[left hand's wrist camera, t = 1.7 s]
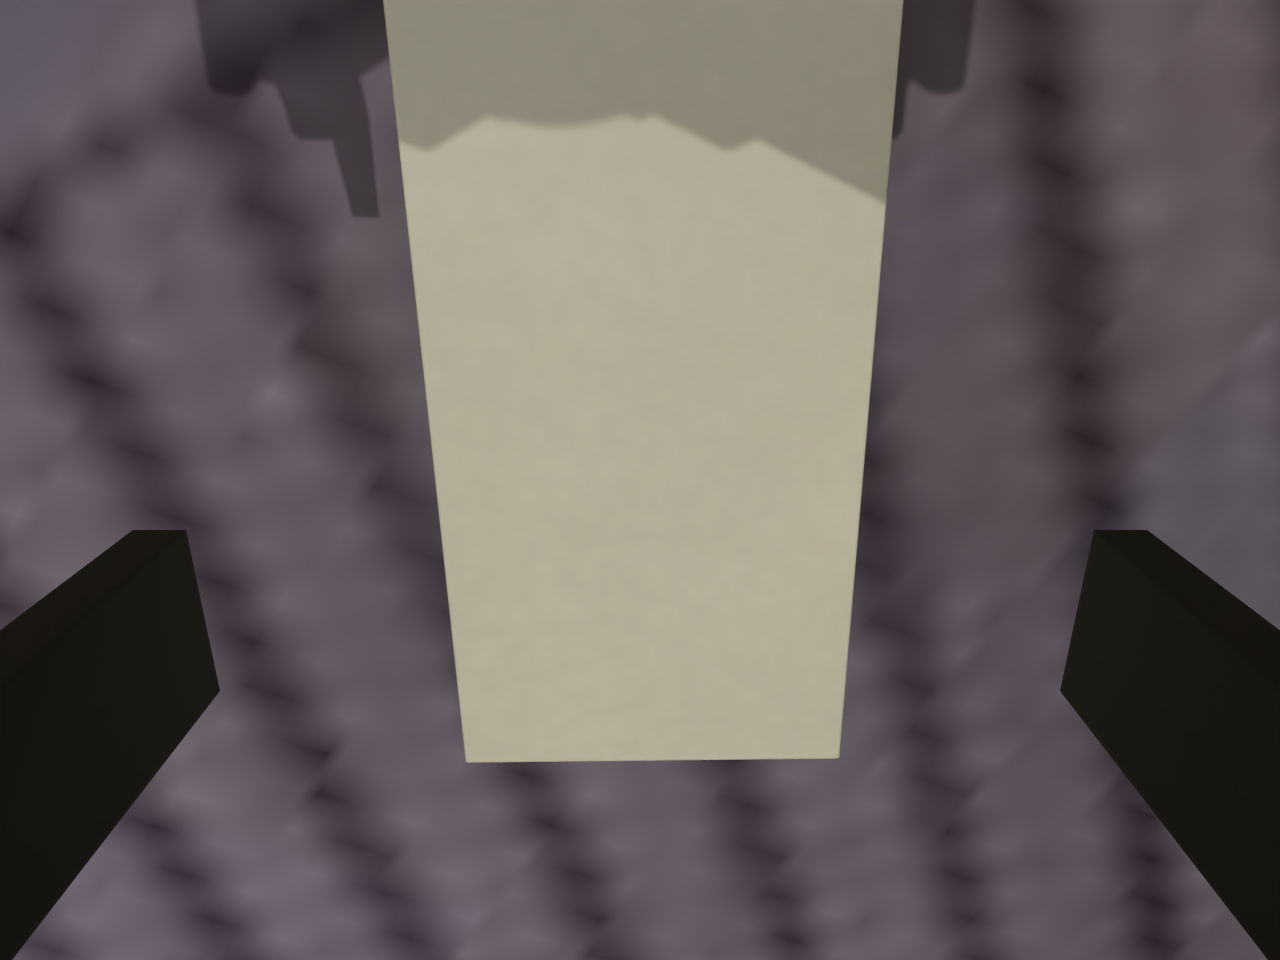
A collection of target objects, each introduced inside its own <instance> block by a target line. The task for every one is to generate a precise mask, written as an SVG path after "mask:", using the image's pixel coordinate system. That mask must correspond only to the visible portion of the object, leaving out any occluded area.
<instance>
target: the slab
mask: <svg viewBox="0 0 1280 960" xmlns="http://www.w3.org/2000/svg"><path fill="white" fill-rule="evenodd" d="M903 1H904V0H383V4H384V13H385V22H386V32H387V41H388V50H389V59H390V68H391V78H392V87H393V96H394V105H395V114H396V124H397V133H398V142H399V151H400V160H401V170H402V179H403V188H404V197H405V206H406V216H407V225H408V234H409V243H410V252H411V262H412V271H413V280H414V289H415V298H416V308H417V317H418V326H419V335H420V344H421V354H422V363H423V372H424V381H425V390H426V400H427V409H428V418H429V427H430V436H431V446H432V455H433V464H434V473H435V482H436V492H437V501H438V510H439V519H440V528H441V538H442V547H443V556H444V565H445V574H446V584H447V593H448V602H449V611H450V620H451V630H452V639H453V648H454V657H455V666H456V676H457V685H458V694H459V703H460V712H461V722H462V731H463V740H464V749H465V758H466V762H545V761H636V760H728V759H819V758H839V753H840V741H841V730H842V718H843V706H844V694H845V683H846V671H847V659H848V647H849V636H850V624H851V612H852V600H853V589H854V577H855V565H856V553H857V542H858V530H859V518H860V506H861V495H862V483H863V471H864V459H865V448H866V436H867V424H868V412H869V401H870V389H871V377H872V365H873V354H874V342H875V330H876V318H877V307H878V295H879V283H880V271H881V260H882V248H883V236H884V224H885V213H886V201H887V189H888V177H889V166H890V154H891V142H892V130H893V118H894V107H895V95H896V83H897V71H898V60H899V48H900V36H901V24H902V13H903Z"/></svg>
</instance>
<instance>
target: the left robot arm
mask: <svg viewBox="0 0 1280 960" xmlns="http://www.w3.org/2000/svg"><path fill="white" fill-rule="evenodd" d="M219 691H220V689H219V685H218V680H217V675H216V670H215V666H214V661H213V656H212V651H211V647H210V642H209V637H208V633H207V628H206V623H205V618H204V614H203V609H202V604H201V599H200V595H199V590H198V585H197V580H196V576H195V571H194V566H193V561H192V557H191V552H190V547H189V542H188V538H187V533H186V530H132V531H131V532H130V533H128V534H127V535H126V536H124V537H123V538H122V539H121V540H119V541H118V542H117V543H115V544H114V545H113V546H111V547H110V548H109V549H107V550H106V551H105V552H103V553H102V554H101V555H99V556H98V557H97V558H95V559H94V560H93V561H91V562H90V563H89V564H87V565H86V566H85V567H83V568H82V569H81V570H79V571H78V572H77V573H75V574H74V575H73V576H72V577H70V578H69V579H68V580H66V581H65V582H64V583H62V584H61V585H60V586H58V587H57V588H56V589H54V590H53V591H52V592H50V593H49V594H48V595H46V596H45V597H44V598H42V599H41V600H40V601H38V602H37V603H36V604H34V605H33V606H32V607H30V608H29V609H28V610H26V611H25V612H24V613H23V614H21V615H20V616H19V617H17V618H16V619H15V620H13V621H12V622H11V623H9V624H8V625H7V626H5V627H4V628H3V629H1V630H0V960H12V959H13V958H14V957H15V955H16V954H17V953H18V951H19V950H20V949H21V948H22V946H23V945H24V944H25V942H26V941H27V940H28V938H29V937H30V936H31V935H32V933H33V932H34V931H35V929H36V928H37V927H38V926H39V924H40V923H41V922H42V920H43V919H44V918H45V916H46V915H47V914H48V913H49V911H50V910H51V909H52V907H53V906H54V905H55V904H56V902H57V901H58V900H59V898H60V897H61V896H62V894H63V893H64V892H65V891H66V889H67V888H68V887H69V885H70V884H71V883H72V882H73V880H74V879H75V878H76V876H77V875H78V874H79V872H80V871H81V870H82V869H83V867H84V866H85V865H86V863H87V862H88V861H89V860H90V858H91V857H92V856H93V854H94V853H95V852H96V851H97V849H98V848H99V847H100V845H101V844H102V843H103V841H104V840H105V839H106V838H107V836H108V835H109V834H110V832H111V831H112V830H113V829H114V827H115V826H116V825H117V823H118V822H119V821H120V819H121V818H122V817H123V816H124V814H125V813H126V812H127V810H128V809H129V808H130V807H131V805H132V804H133V803H134V801H135V800H136V799H137V797H138V796H139V795H140V794H141V792H142V791H143V790H144V788H145V787H146V786H147V785H148V783H149V782H150V781H151V779H152V778H153V777H154V775H155V774H156V773H157V772H158V770H159V769H160V768H161V766H162V765H163V764H164V763H165V761H166V760H167V759H168V757H169V756H170V755H171V753H172V752H173V751H174V750H175V748H176V747H177V746H178V744H179V743H180V742H181V741H182V739H183V738H184V737H185V735H186V734H187V733H188V731H189V730H190V729H191V728H192V726H193V725H194V724H195V722H196V721H197V720H198V719H199V717H200V716H201V715H202V713H203V712H204V711H205V709H206V708H207V707H208V706H209V704H210V703H211V702H212V700H213V699H214V698H215V697H216V695H217V694H218V693H219ZM1060 691H1061V693H1062V694H1063V695H1064V697H1065V698H1066V699H1067V700H1068V702H1069V703H1070V704H1071V706H1072V707H1073V708H1074V709H1075V711H1076V712H1077V713H1078V715H1079V716H1080V717H1081V719H1082V720H1083V721H1084V722H1085V724H1086V725H1087V726H1088V728H1089V729H1090V730H1091V731H1092V733H1093V734H1094V735H1095V737H1096V738H1097V739H1098V741H1099V742H1100V743H1101V744H1102V746H1103V747H1104V748H1105V750H1106V751H1107V752H1108V753H1109V755H1110V756H1111V757H1112V759H1113V760H1114V761H1115V763H1116V764H1117V765H1118V766H1119V768H1120V769H1121V770H1122V772H1123V773H1124V774H1125V775H1126V777H1127V778H1128V779H1129V781H1130V782H1131V783H1132V785H1133V786H1134V787H1135V788H1136V790H1137V791H1138V792H1139V794H1140V795H1141V796H1142V797H1143V799H1144V800H1145V801H1146V803H1147V804H1148V805H1149V807H1150V808H1151V809H1152V810H1153V812H1154V813H1155V814H1156V816H1157V817H1158V818H1159V819H1160V821H1161V822H1162V823H1163V825H1164V826H1165V827H1166V829H1167V830H1168V831H1169V832H1170V834H1171V835H1172V836H1173V838H1174V839H1175V840H1176V841H1177V843H1178V844H1179V845H1180V847H1181V848H1182V849H1183V851H1184V852H1185V853H1186V854H1187V856H1188V857H1189V858H1190V860H1191V861H1192V862H1193V863H1194V865H1195V866H1196V867H1197V869H1198V870H1199V871H1200V872H1201V874H1202V875H1203V876H1204V878H1205V879H1206V880H1207V882H1208V883H1209V884H1210V885H1211V887H1212V888H1213V889H1214V891H1215V892H1216V893H1217V894H1218V896H1219V897H1220V898H1221V900H1222V901H1223V902H1224V904H1225V905H1226V906H1227V907H1228V909H1229V910H1230V911H1231V913H1232V914H1233V915H1234V916H1235V918H1236V919H1237V920H1238V922H1239V923H1240V924H1241V926H1242V927H1243V928H1244V929H1245V931H1246V932H1247V933H1248V935H1249V936H1250V937H1251V938H1252V940H1253V941H1254V942H1255V944H1256V945H1257V946H1258V948H1259V949H1260V950H1261V951H1262V953H1263V954H1264V955H1265V957H1266V958H1267V959H1268V960H1280V630H1279V629H1277V628H1276V627H1275V626H1273V625H1272V624H1271V623H1269V622H1268V621H1267V620H1265V619H1264V618H1263V617H1261V616H1260V615H1259V614H1257V613H1256V612H1255V611H1254V610H1252V609H1251V608H1250V607H1248V606H1247V605H1246V604H1244V603H1243V602H1242V601H1240V600H1239V599H1238V598H1236V597H1235V596H1234V595H1232V594H1231V593H1230V592H1228V591H1227V590H1226V589H1224V588H1223V587H1222V586H1220V585H1219V584H1218V583H1216V582H1215V581H1214V580H1212V579H1211V578H1210V577H1208V576H1207V575H1206V574H1205V573H1203V572H1202V571H1201V570H1199V569H1198V568H1197V567H1195V566H1194V565H1193V564H1191V563H1190V562H1189V561H1187V560H1186V559H1185V558H1183V557H1182V556H1181V555H1179V554H1178V553H1177V552H1175V551H1174V550H1173V549H1171V548H1170V547H1169V546H1167V545H1166V544H1165V543H1163V542H1162V541H1161V540H1159V539H1158V538H1157V537H1156V536H1154V535H1153V534H1152V533H1150V532H1149V531H1148V530H1094V533H1093V538H1092V542H1091V547H1090V552H1089V557H1088V561H1087V566H1086V571H1085V576H1084V580H1083V585H1082V590H1081V595H1080V599H1079V604H1078V609H1077V614H1076V618H1075V623H1074V628H1073V632H1072V637H1071V642H1070V647H1069V651H1068V656H1067V661H1066V666H1065V670H1064V675H1063V680H1062V685H1061V689H1060Z"/></svg>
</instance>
